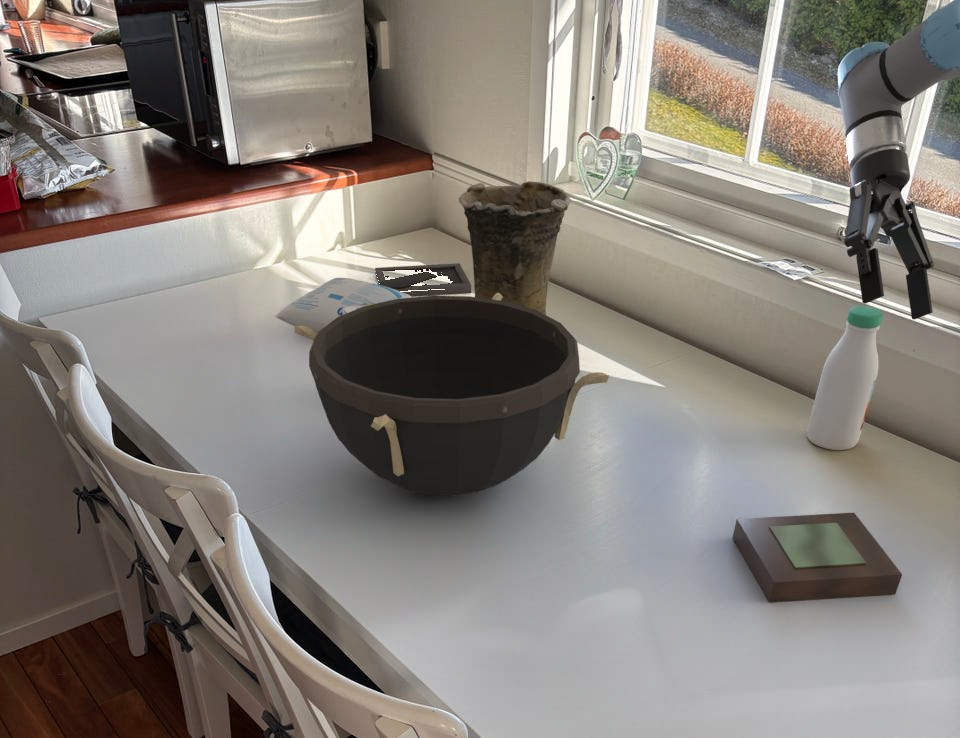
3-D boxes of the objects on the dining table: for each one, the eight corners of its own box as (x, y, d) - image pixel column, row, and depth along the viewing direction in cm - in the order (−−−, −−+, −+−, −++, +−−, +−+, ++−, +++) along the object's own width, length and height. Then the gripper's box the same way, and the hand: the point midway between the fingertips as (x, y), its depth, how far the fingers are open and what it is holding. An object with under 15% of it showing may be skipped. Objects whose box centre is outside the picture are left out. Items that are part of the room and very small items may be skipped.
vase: (471, 375, 163) (472, 209, 146) (451, 334, 177) (449, 178, 160) (572, 366, 166) (584, 203, 149) (544, 327, 180) (553, 173, 163)
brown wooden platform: (848, 531, 127) (854, 510, 125) (895, 594, 116) (903, 573, 114) (732, 538, 125) (736, 517, 123) (769, 602, 115) (774, 581, 113)
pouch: (363, 315, 163) (418, 275, 176) (271, 300, 169) (330, 262, 183) (368, 359, 168) (421, 317, 181) (278, 342, 174) (336, 303, 188)
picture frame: (382, 298, 190) (471, 292, 193) (382, 288, 189) (471, 282, 192) (375, 275, 200) (459, 270, 203) (374, 265, 199) (459, 261, 202)
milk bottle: (850, 456, 143) (888, 325, 130) (799, 443, 146) (831, 314, 133) (862, 435, 148) (900, 307, 135) (813, 423, 151) (845, 297, 138)
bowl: (373, 573, 118) (362, 426, 105) (290, 447, 143) (274, 316, 130) (617, 511, 130) (634, 372, 117) (502, 404, 155) (506, 280, 142)
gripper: (896, 195, 145) (916, 331, 144) (804, 151, 129) (825, 303, 128) (946, 171, 139) (966, 312, 138) (855, 121, 124) (877, 280, 122)
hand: (898, 308), depth 133 cm, fingers open, 13 cm apart
